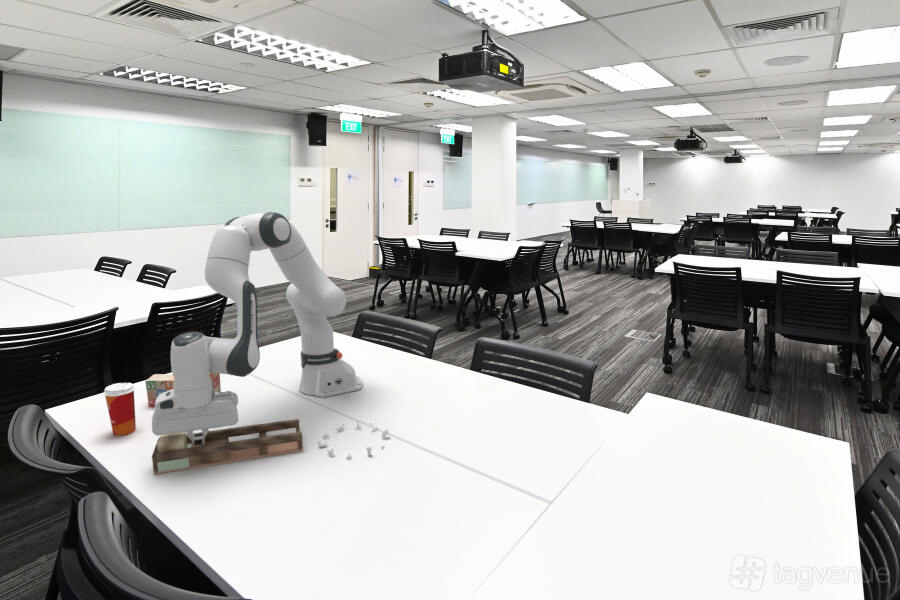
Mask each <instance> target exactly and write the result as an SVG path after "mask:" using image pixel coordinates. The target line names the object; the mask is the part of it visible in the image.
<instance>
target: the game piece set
mask: <svg viewBox="0 0 900 600" xmlns="http://www.w3.org/2000/svg"><path fill="white" fill-rule="evenodd" d="M356 423H357V424H356V425H355V426H354V427H353V428H354V430H355V431H360V430H362V425H360V424H359V423H360V419H359V418H357V419H356ZM368 424H369V425H370V426H371V427H372V429H371V432H372V433H375V432H376V431H377V430H378V427H377V426H374V425H372V424H371V421H370V422H368ZM334 425H335V426H337V427H338V428H337V427H335V431H337V433H338V432H341V431H343V430H344V429H345V427H344V425H345V423H343V424H341V425H339V424H338V423H334ZM387 434H389V429H387V428H384V429H382V431H381V434H380V437H382V439H384V440H385V439H386V436H387ZM328 439H329V433H328V431H325V433H323V434H322V440H328ZM322 440H321V439H319V440H317V441H316V443H318V446H320V448H323V447H326V446H327V445H328V444H329V442H326V441H322ZM384 448H385V445H384V444H383V445H382V444H381V445H380V449H384ZM365 450H366V451H367V456H368V457H370V456H372V446H370V445H367V446H366V448H365ZM334 451H335V447H333V446H330V447H329V448H327V449H326V452H327V453H328V454H326V456H327V457H328V458H331V457H333V456H335V455H334ZM345 458H346V460H351V459H352V455H351V454H350V453H348V454H347V455H346V456H345Z"/></svg>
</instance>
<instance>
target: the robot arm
mask: <svg viewBox="0 0 900 600" xmlns="http://www.w3.org/2000/svg"><path fill="white" fill-rule="evenodd" d="M268 249H269V251H270V253H271V255H272V256H273V258H274V260H275V262H276V263H277V266H278V267H279V268H280V271H281V272H282V274H283V276H284V278H285V279H286V280H287V281H288V282H290V284H289V285H288V287H287V289H286V291H285V292H286V293H285V297H286V300H287V302H288V303H289V305H290V306H291V308H292V309H293V311H294V315H295V317H296V320H297V323H298V326H299V331H300V341H301V351H300V366H301V377H300V384H299V388H298V391H299V392H300V393H302V394H305V395H311V396H316V397H318V398H326V397H331V396H336V395H339V394H346V393H350V392H354V391H355V392H356V391H360V390H362V388H363V386H364V384H363V380H362V378H360V377H359V376H357V374H356V371H355V369H354V367H353V366H352V365H351V364H350V363H348V362H346V361H345V360H343V359H342V358H343V354H342V352H340V350H339V349H337V348H335V347H334V344H335V342H334V330H333V329H334V328H333V326H332V324H330V322H329V321H328V319H327V317H328V316H330V317H331V316H337V315H339V314H341V313H342V312H343V311H344V310H345V308H346V305H347V296H346V293H345V292H344V290H343V289H342V288H340V287H339V286H337V285H336V284H335V283H334V282H333V281H332V280H331V278H329V276H328V275H327V274H326V273H325V272H324V270H323V269H322V268H320V266H319V264H318V263H317V261H316V260H315V258H314V256H313V255H312V253H311V251H310V249H309V247H308V245H307V244H306V242H305V241H304V238H303V237H302V235H301V234H300V232H299V231H298V230H297V228H296V227H295V225H294V224H293V223H292V222H291V221H290V220H288V219H287V217H285V216H284V215H283V214H282V213H278V212H272V211H268V212H259V213H258V212H257V213H256V212H255V213H250V214H248V215H243V216H237V217H234V218H231V219H230V220H229V219H228V221H226V222H225V224H224V225H223V226H219V228H218V229H217V230H216V231H215V233H214V236H213V238H212V241H211V243H210V246H209V250H208V253H207V257H206V262H205V268H204V278H205V281H206V283H207V284H208V286H209V287H210V288H211V289H212V290H213V291H215V292H216V293H217V294H220V295H221V296H223V297H225V298H228V299H230V301H233V302H234V304H235V306H236V311H237V317H236V318H237V321H236V322H237V324H236V327H237V330H236V331H237V335H236V336H235V338H227V337H225V338H224V337H215V336H214V337H213V336H206V335H204V333H202V332H199V331H188V332H183V333H181V334H179V335H177V336H176V337H174V338H173V340H172V341H171V345H170V366H171V374H173V375H174V389H172V390H169V391H166V392H164V393H161V394H160V395H159V396H158V397H157V399H156V401H155V407H154V412H153V414H152V419H151V431H152V434H153V435H155V436H158V437H160V435H166V434H173V433H180V432H186V435H187V436H188V437H189V438H190V439H191V440H192V445H193V446H195V445H202V444H205V437H206V435H207V433H208V431H209V429H215V428H224V427H231V426H235V425H236V424H237V423H238V422H239V411H238V408H237V406H238V404H239V396H238V394H237V393H236V392H232V391H231V390H226V391H221V392H216V393H212V381H211V378H210V376H209V374H211V373H218V374H222V375H230V376H234V377H241V378H245V377H246V376H249V375H250V374H251V373H253V371H255V370H256V369H257V367H258V366H259V364H260V359H261V358H260V357H261V356H260V355H261V353H260V346H259V339H258V336H259V335H258V295H257V290H256V286H255V285H254V284H253V283H252V282H250V278H249V267H250V266H249V265H250V259H251V258H250V257H251V253H252V252H258V251H263V250H268ZM194 431H201V432H202V433H203V435H202V436H199V437H195V436H194V435H193V433H194Z"/></svg>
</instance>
